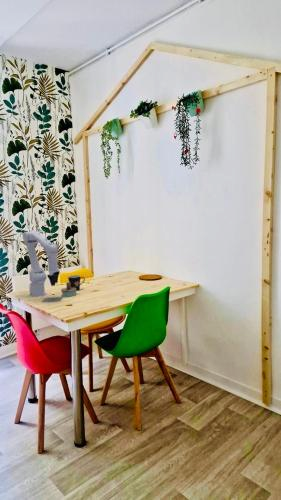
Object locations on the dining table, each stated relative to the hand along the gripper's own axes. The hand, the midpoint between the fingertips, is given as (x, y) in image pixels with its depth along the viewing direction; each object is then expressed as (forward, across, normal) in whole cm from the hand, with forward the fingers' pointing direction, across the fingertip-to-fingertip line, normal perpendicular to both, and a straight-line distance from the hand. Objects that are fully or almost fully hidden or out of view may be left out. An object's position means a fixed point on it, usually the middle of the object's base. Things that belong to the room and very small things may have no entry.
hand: (54, 284), depth 214 cm
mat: (+10, 0, +2) cm, 11 cm away
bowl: (+10, +10, -7) cm, 16 cm away
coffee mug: (+11, +25, -10) cm, 29 cm away
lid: (+7, +10, -7) cm, 14 cm away
